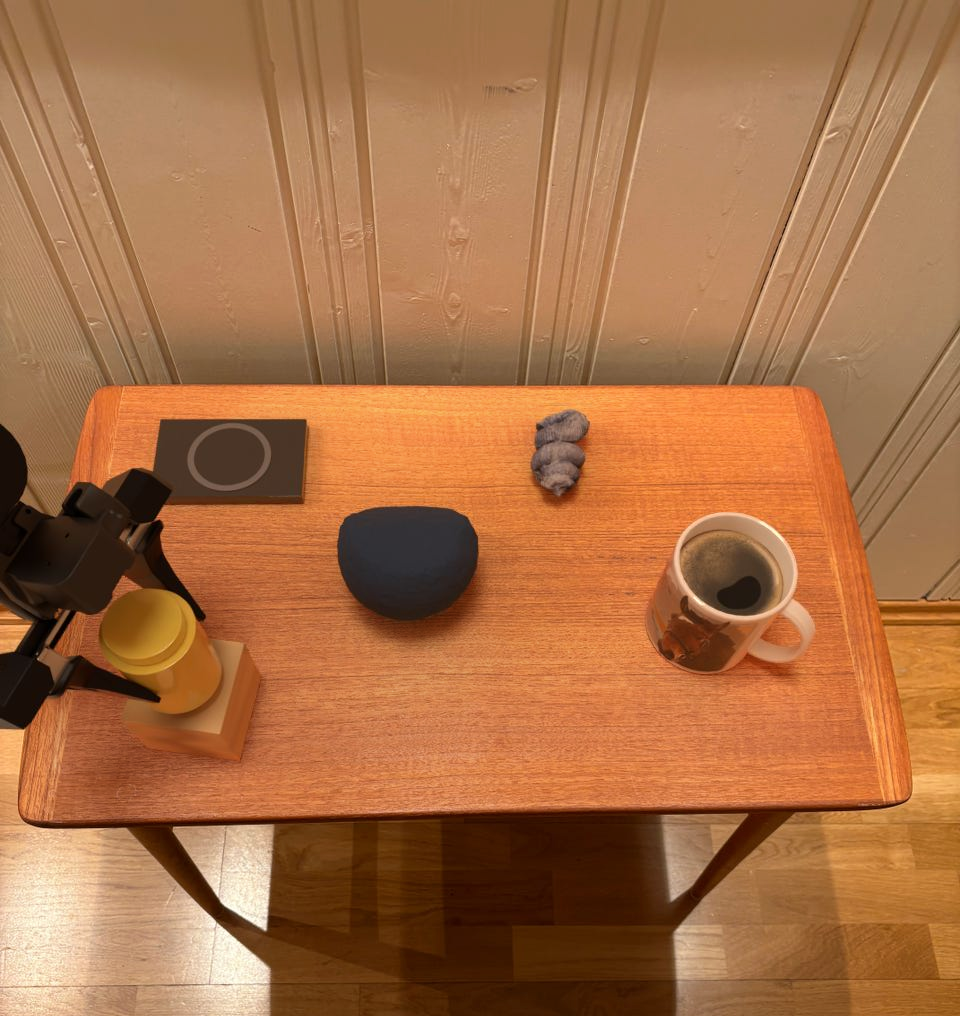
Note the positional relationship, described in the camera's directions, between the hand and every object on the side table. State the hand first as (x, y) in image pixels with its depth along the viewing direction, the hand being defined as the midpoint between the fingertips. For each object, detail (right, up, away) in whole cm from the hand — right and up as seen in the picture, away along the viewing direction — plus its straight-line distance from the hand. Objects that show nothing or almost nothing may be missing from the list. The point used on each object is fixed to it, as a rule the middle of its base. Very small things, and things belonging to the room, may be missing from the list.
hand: (180, 659), depth 62 cm
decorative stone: (+15, +6, +17) cm, 24 cm away
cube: (-2, -5, +11) cm, 12 cm away
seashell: (+29, +18, +23) cm, 41 cm away
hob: (-2, +18, +22) cm, 28 cm away
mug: (+42, +2, +16) cm, 45 cm away
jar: (-1, -1, +4) cm, 4 cm away
